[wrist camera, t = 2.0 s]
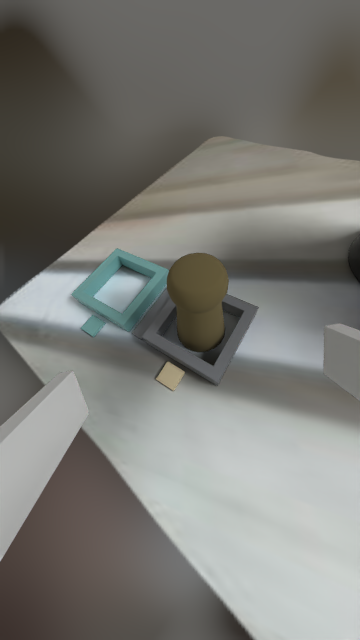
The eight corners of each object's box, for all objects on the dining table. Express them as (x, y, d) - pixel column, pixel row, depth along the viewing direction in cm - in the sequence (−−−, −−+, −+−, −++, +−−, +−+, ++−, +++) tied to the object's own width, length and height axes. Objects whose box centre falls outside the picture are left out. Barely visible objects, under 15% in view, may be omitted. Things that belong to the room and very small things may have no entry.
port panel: (121, 257, 33) (116, 248, 31) (254, 315, 25) (258, 307, 23) (64, 317, 28) (55, 310, 26) (203, 411, 20) (203, 410, 18)
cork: (232, 344, 23) (249, 288, 14) (183, 357, 23) (165, 311, 14) (216, 303, 26) (220, 233, 16) (172, 315, 26) (151, 252, 16)
